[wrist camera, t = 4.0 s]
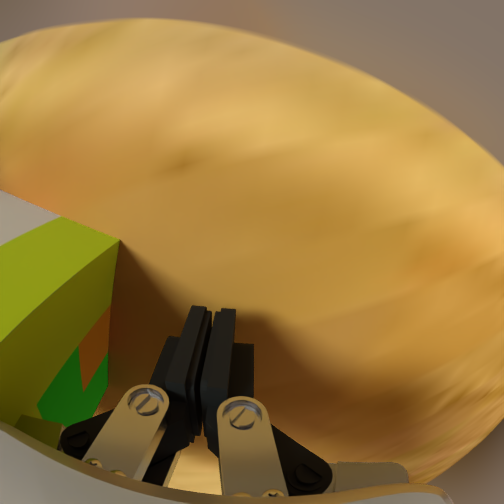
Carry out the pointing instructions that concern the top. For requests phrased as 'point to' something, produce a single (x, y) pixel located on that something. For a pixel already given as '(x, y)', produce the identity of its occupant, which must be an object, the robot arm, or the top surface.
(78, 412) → the puzzle toy
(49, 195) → the top surface
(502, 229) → the top surface
